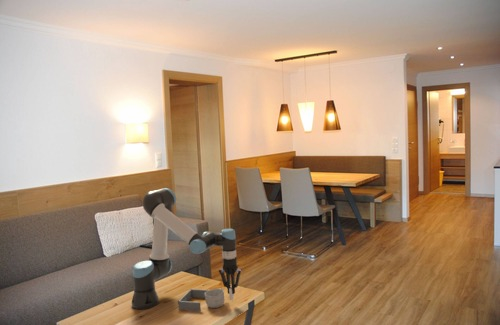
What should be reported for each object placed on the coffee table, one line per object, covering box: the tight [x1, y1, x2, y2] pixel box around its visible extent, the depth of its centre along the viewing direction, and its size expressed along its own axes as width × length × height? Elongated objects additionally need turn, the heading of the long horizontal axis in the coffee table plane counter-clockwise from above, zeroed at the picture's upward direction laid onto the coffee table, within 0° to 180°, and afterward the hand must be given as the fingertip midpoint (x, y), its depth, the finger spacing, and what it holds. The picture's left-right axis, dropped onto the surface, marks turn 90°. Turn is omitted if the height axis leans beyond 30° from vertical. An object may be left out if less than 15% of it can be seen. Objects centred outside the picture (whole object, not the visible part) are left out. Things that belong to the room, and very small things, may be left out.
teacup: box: [204, 287, 225, 309], centre depth 226 cm, size 14×11×8 cm
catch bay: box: [177, 288, 209, 312], centre depth 230 cm, size 13×18×4 cm
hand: (231, 299), depth 224 cm, fingers closed
